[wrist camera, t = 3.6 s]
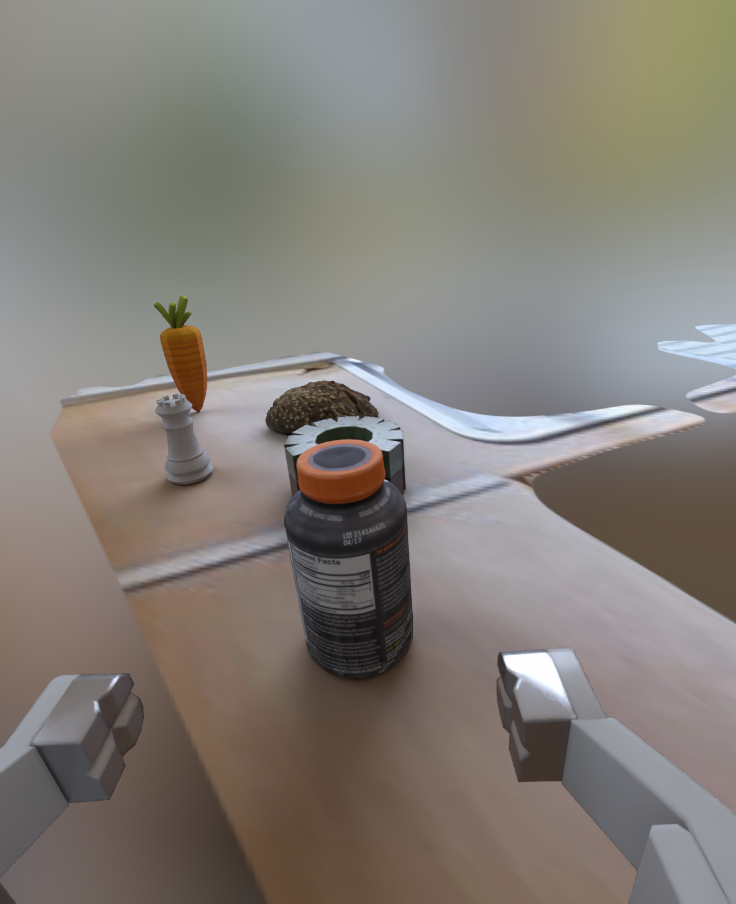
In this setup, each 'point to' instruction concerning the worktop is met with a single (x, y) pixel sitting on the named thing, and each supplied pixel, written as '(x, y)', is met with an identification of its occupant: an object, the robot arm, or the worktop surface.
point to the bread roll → (317, 406)
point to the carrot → (184, 353)
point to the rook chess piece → (182, 443)
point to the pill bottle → (350, 559)
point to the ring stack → (355, 429)
